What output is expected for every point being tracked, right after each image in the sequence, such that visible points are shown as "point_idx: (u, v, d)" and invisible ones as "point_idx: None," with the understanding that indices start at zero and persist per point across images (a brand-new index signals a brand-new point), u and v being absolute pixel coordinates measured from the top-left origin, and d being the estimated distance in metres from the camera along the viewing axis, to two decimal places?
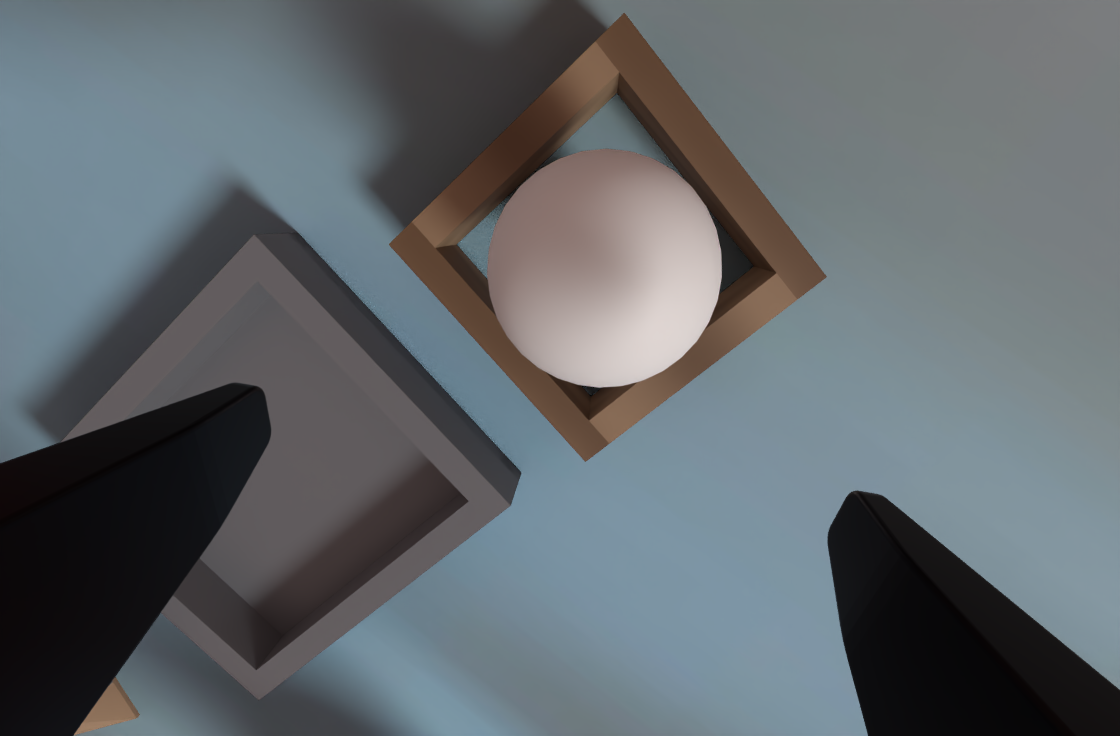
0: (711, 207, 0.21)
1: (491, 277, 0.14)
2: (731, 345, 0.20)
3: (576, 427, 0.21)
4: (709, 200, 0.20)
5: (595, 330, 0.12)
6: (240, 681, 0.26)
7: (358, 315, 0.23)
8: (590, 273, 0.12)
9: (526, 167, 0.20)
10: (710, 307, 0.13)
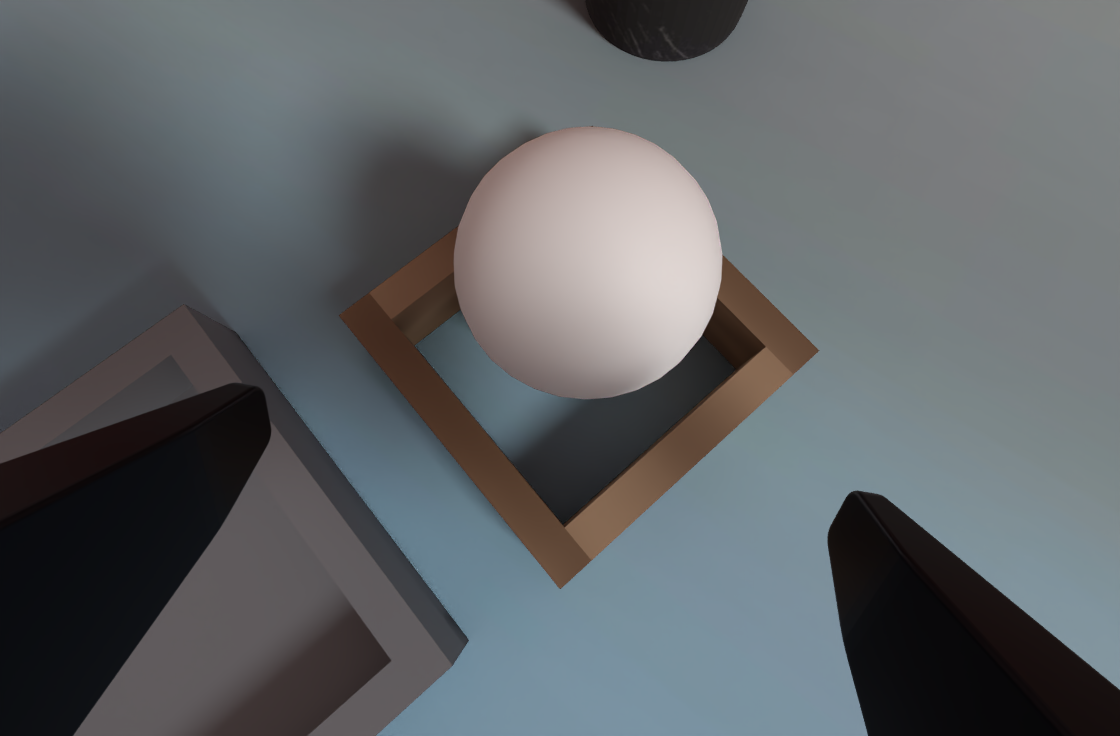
0: None
1: (460, 240, 0.12)
2: (729, 426, 0.17)
3: (548, 538, 0.16)
4: None
5: (587, 255, 0.10)
6: None
7: (285, 413, 0.19)
8: (581, 187, 0.10)
9: None
10: (716, 272, 0.11)
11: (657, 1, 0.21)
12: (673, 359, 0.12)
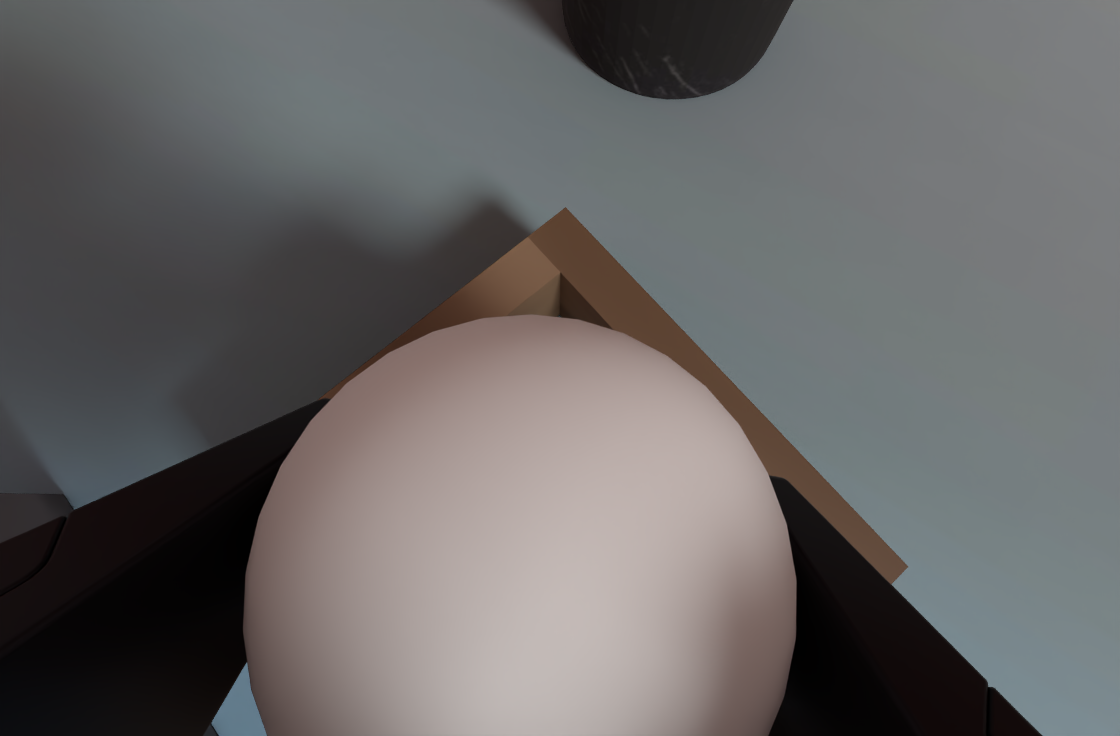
0: None
1: (245, 577, 0.05)
2: None
3: None
4: None
5: None
6: None
7: None
8: (470, 570, 0.04)
9: None
10: (791, 655, 0.05)
11: (660, 21, 0.15)
12: None
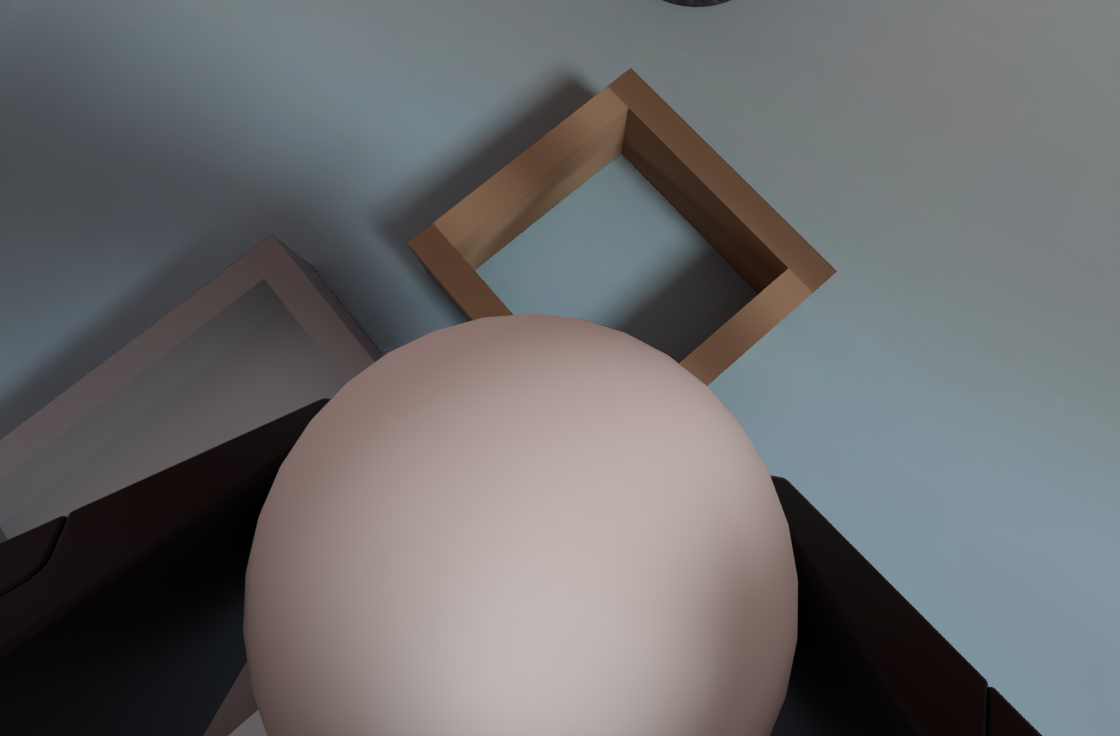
0: (714, 235, 0.22)
1: None
2: (754, 338, 0.19)
3: None
4: (713, 223, 0.22)
5: None
6: None
7: (359, 332, 0.21)
8: (473, 571, 0.04)
9: (543, 189, 0.22)
10: (792, 655, 0.05)
11: None
12: None
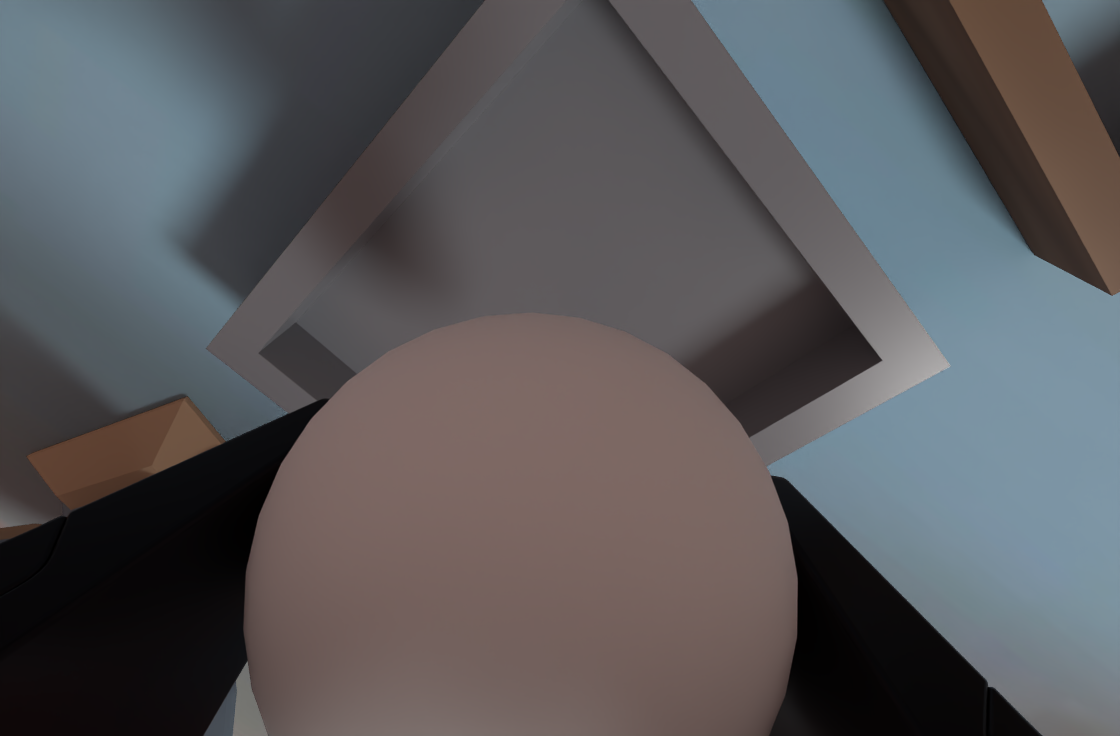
0: None
1: (246, 576, 0.05)
2: None
3: None
4: None
5: None
6: None
7: None
8: (473, 569, 0.04)
9: None
10: (792, 653, 0.05)
11: None
12: None
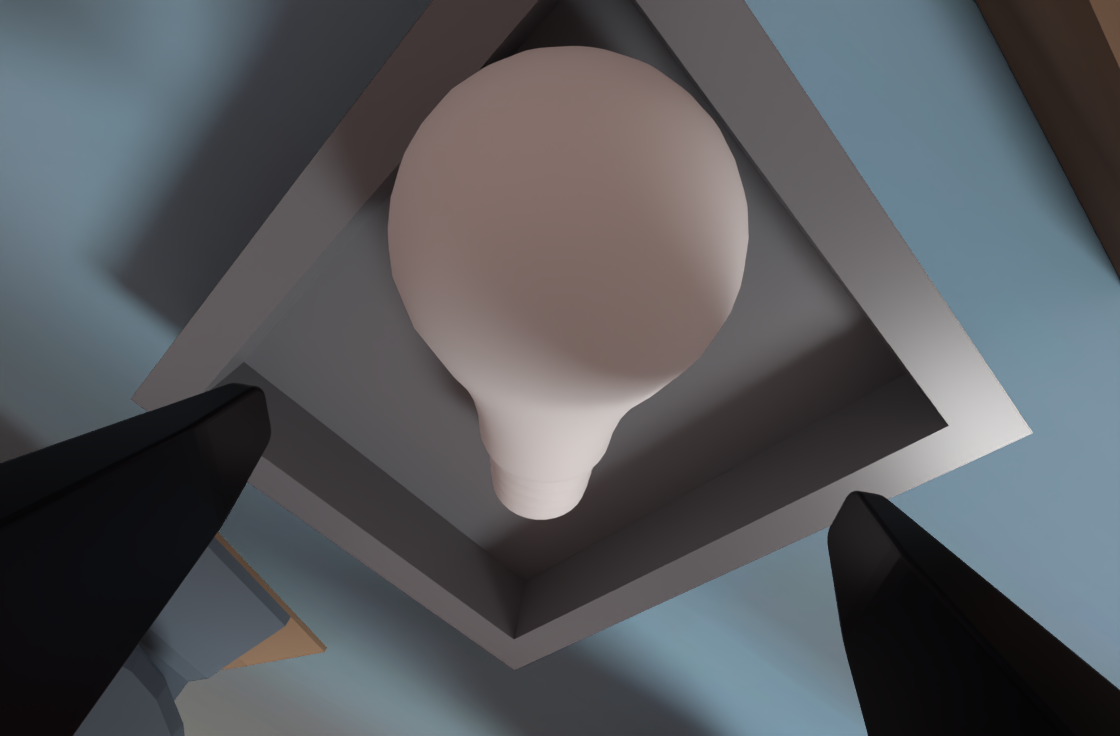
0: None
1: (406, 150, 0.09)
2: None
3: None
4: None
5: (577, 90, 0.07)
6: (489, 650, 0.18)
7: None
8: (571, 49, 0.08)
9: None
10: (745, 204, 0.09)
11: None
12: (695, 303, 0.08)
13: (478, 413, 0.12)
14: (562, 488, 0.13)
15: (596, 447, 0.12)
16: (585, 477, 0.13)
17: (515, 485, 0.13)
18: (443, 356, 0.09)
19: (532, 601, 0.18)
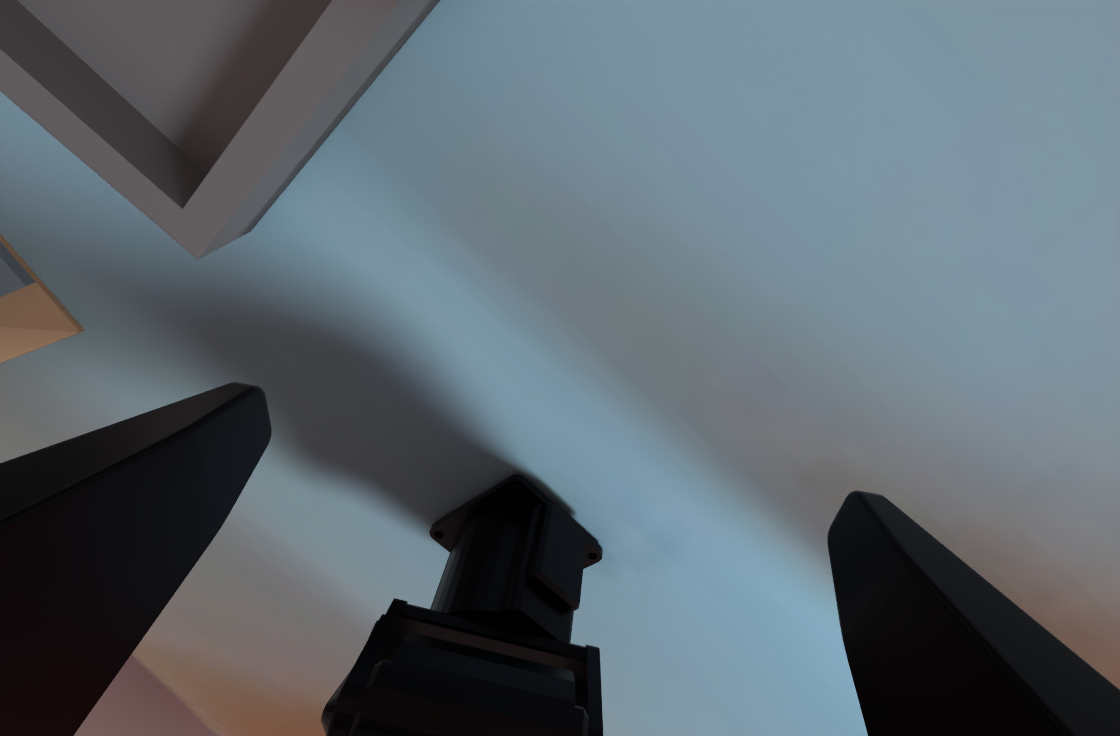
0: None
1: None
2: None
3: None
4: None
5: None
6: (166, 229, 0.18)
7: None
8: None
9: None
10: None
11: None
12: None
13: None
14: None
15: None
16: None
17: None
18: None
19: None
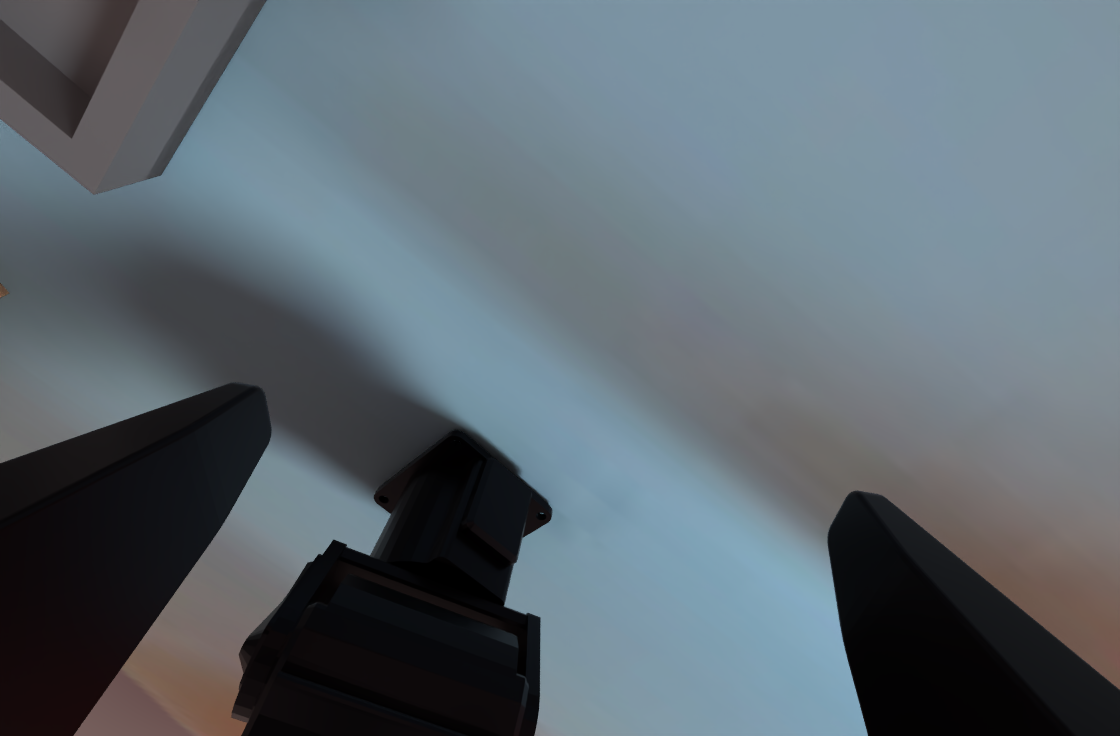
0: None
1: None
2: None
3: None
4: None
5: None
6: (58, 162, 0.18)
7: None
8: None
9: None
10: None
11: None
12: None
13: None
14: None
15: None
16: None
17: None
18: None
19: None
